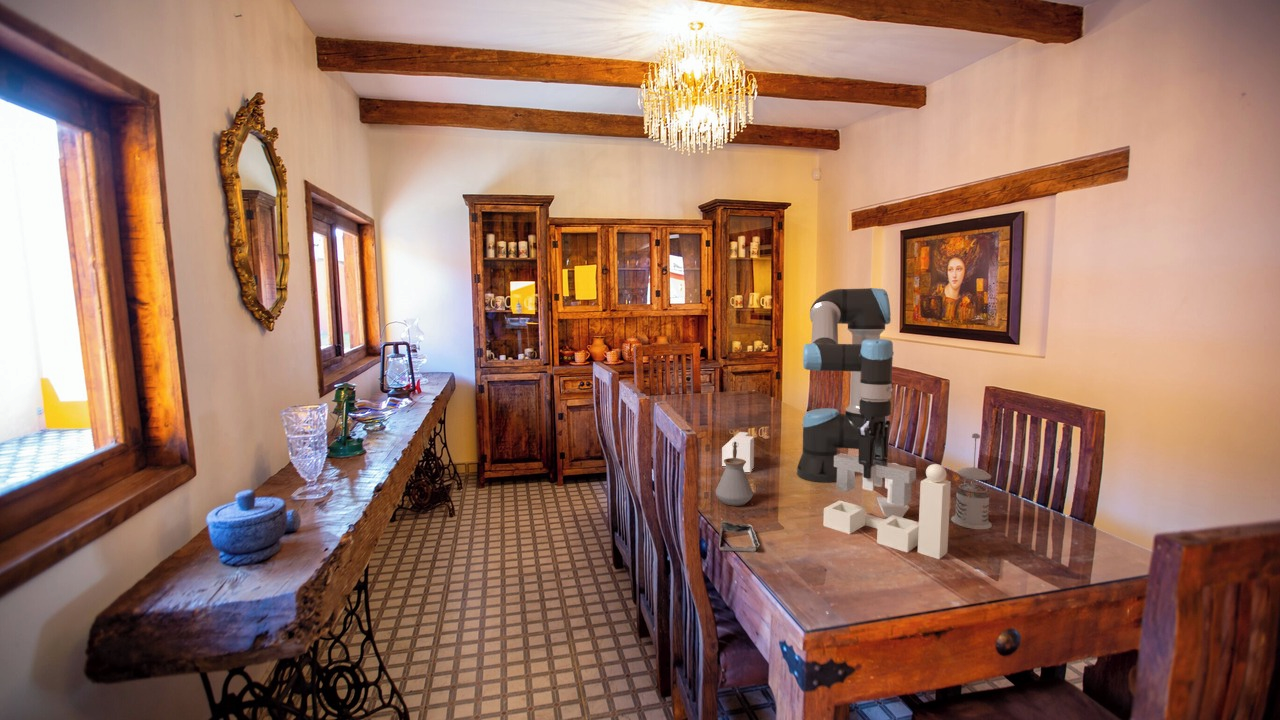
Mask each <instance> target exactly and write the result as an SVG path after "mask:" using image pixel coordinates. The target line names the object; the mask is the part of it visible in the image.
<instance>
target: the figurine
mask: <svg viewBox="0 0 1280 720" xmlns="http://www.w3.org/2000/svg"><path fill="white" fill-rule="evenodd" d="M892 463H893V464H897V465H900V464H899V463H896V462H892ZM892 482H893V480H891V479H887V478H884V488H885V489H886V490H887V497H882V496H881V497H878V496H877V497H875V498H876V501H877V503H878V505H879V507H880V509H881V512H882V514H883V515H884V516H885V518H889V517H890V516H892V515H894V516H898V517H902V518H904V516H905V514H906V513H907V512H908V510H909V509H910V506H909V504H907V505H905V506H901V505H897V504H893V503H892Z"/></svg>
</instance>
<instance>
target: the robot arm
mask: <svg viewBox="0 0 1280 720" xmlns="http://www.w3.org/2000/svg"><path fill="white" fill-rule="evenodd" d="M809 319H810V322H811V323H812V327H811V340H810V341H811V343H805V344H804V345H803V349H802V350H803V351H802V353H803V354H802V357H803V358H802V359H803V360H802V366H803V369H805V370H807V371H808V370H809V371H816V372H819V371H820V372H822V371H823V372H825V371H827V372H851V373H850V376H851V377H850V399H849V401H850V402H849V403H850V404H849V405H847V407H846V408H845V411H844V412H845V413H840V412H839V410H838V408H830V407H829V408H828V407H827V408H823V407H822V408H816V409H812V410H808V411H806V412H805V413H804V415H803V419H802V421H803V422H802V428H803V429H802V452H801V455H800V459H799V461H798V464H797V468H796V475H797V476H798V477H799V478H801V479H803V480H807V481H811V482H818V483H832V482H833V483H834V482H837V467H834V456H835V455H838V451H839V450H838V448H839V449H849V450H850V449H852V450H855V449H856V450H858V457H859V460H858V462H859V464H861V465H863V473H862V490H865V491H869V492H874V491H875V487H878V488H882V487H883V482H884V481H883V479H884V478H882V477H878V476H874V473H875V466H873V460H878V461H883V462H888V456H889V453H888V452H889V437H890V436H889V435H890V426H891V420H888V418H887V417H888V416H890V415H891V413H892V402H891V400H890V399H892V392H893V391H894V389H893V388H892V387H893V386H892V382H893V381H892V379H893V378H892V376H893V361H894V360H893V359H894V358H893V357H894V345H893V341H892V340H890V339H885V338H883V339H882V338H881V334H882V333H883V332H884V331H885V330H886V325H889V324H890V323H891V322H892V321H891V305H890V299H889V295H888V292H887V290H885V289H883V288H876V287H875V288H874V287H873V288H872V287H870V288H836V289H832V290H828V291H827V292H825V293H823V294H822V295H820V296H819V297H817V298H816V299H815V300H814V302H813V303H812V305H811V306H810V311H809ZM839 324H840V325H841V324H842V325H843V324H845V325H847V330H848V331H849V332H850V333H851V335H852V337H851V338H852V339H851V344H850V343H839V333H838V331H839V330H838V329H839V328H838V325H839Z"/></svg>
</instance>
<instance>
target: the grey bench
mask: <svg viewBox="0 0 1280 720" xmlns="http://www.w3.org/2000/svg"><path fill="white" fill-rule="evenodd" d="M858 460H859V455H858V456H856V455H853V454H847V453H843V452H841V453H839V454H838V453H837V455H835V456H834V467H837V481H836V490H837V491H838V490H840V491H843V492H847V493H848V492H849V491H851V490H854V489H855V480H856V479H855V474H856V473H861V474H863V465H861V464H859V462H858ZM893 463H894V462H888V461H887V462H883V461H878V460H873V466H875V473H874V476H878V477H882V478H883V479H885V478H887V479H891V480H893V482H892V503H893V504H897V505H901V506H905V505H909V504H910V503H911V502H912V483H913V482H914V481H916V480H917V468H916V467H911V466H906V465H901V464H899V465H897V464H898V463H896V464H893ZM855 472H856V473H855Z"/></svg>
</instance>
